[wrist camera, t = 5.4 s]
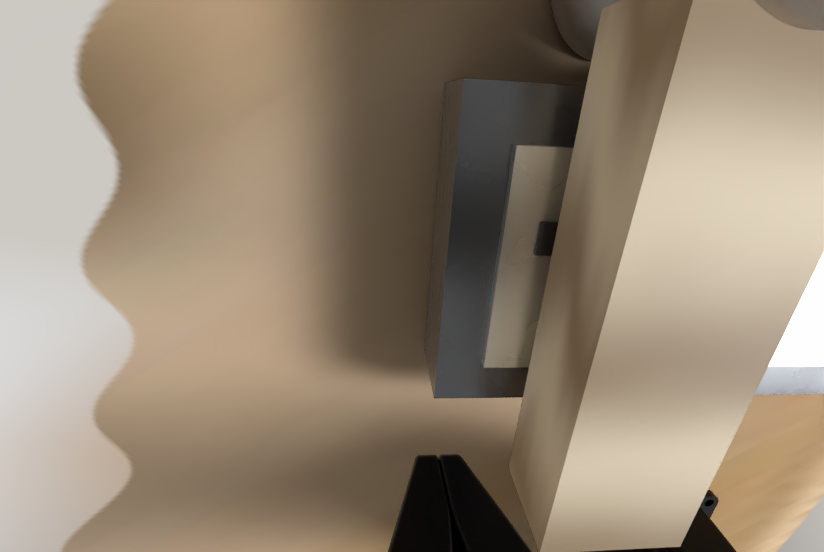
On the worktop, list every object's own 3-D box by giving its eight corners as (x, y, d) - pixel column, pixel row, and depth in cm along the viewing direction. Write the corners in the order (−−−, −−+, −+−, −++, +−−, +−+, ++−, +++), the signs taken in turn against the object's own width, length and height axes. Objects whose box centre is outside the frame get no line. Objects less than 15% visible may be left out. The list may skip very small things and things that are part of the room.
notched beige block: (567, -128, 11) (809, -422, 5) (720, -110, 11) (1122, -359, 5) (484, 401, 18) (539, 553, 12) (580, 400, 18) (680, 546, 12)
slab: (853, 349, 18) (949, 399, 15) (424, 349, 17) (435, 406, 14) (987, 117, 15) (1153, 121, 11) (445, 83, 13) (467, 77, 10)
